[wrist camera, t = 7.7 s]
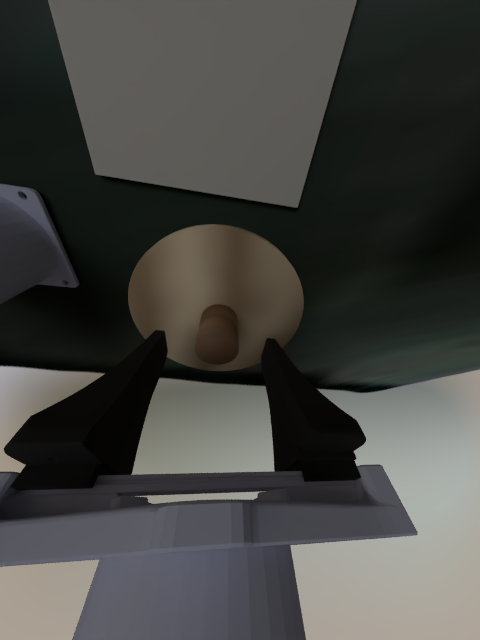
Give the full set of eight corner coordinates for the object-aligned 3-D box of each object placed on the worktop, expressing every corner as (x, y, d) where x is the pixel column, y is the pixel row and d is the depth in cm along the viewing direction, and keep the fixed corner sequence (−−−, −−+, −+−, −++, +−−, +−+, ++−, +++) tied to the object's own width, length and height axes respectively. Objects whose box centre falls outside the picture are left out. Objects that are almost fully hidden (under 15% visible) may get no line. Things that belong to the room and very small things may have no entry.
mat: (99, 174, 13) (95, 174, 13) (-124, -681, 4) (-163, -774, 4) (295, 207, 15) (297, 207, 14) (446, -333, 6) (462, -370, 5)
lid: (149, 361, 19) (131, 400, 16) (108, 208, 11) (51, 222, 7) (276, 367, 21) (285, 404, 17) (329, 239, 12) (367, 261, 9)
